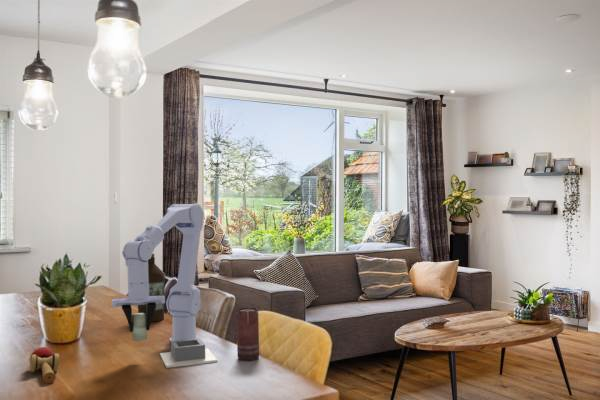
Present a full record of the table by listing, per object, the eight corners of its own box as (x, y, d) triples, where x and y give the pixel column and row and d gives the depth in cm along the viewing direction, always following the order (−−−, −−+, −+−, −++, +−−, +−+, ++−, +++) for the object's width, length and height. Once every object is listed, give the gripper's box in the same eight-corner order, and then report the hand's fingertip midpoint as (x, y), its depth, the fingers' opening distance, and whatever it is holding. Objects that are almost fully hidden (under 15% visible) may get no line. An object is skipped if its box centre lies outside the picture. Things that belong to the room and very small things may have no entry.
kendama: (69, 385, 153) (57, 359, 168) (64, 362, 151) (53, 338, 167) (36, 395, 149) (28, 368, 164) (31, 373, 148) (23, 347, 163)
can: (239, 362, 165) (238, 312, 165) (236, 356, 172) (235, 308, 171) (261, 360, 167) (260, 310, 167) (256, 354, 173) (255, 306, 173)
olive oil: (132, 319, 227) (131, 253, 226) (159, 315, 233) (157, 251, 233) (143, 324, 218) (141, 255, 218) (170, 320, 224) (168, 253, 224)
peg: (131, 338, 171) (131, 313, 171) (146, 336, 172) (145, 312, 172) (132, 341, 167) (132, 316, 167) (147, 339, 168) (146, 315, 168)
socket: (160, 355, 175) (159, 340, 175) (207, 350, 179) (207, 335, 179) (166, 367, 161) (166, 351, 161) (217, 362, 166) (216, 346, 166)
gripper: (112, 286, 163) (113, 335, 163) (166, 282, 168) (167, 330, 168) (111, 283, 170) (112, 330, 170) (162, 279, 175) (163, 325, 175)
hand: (139, 330), depth 170 cm, fingers closed on peg, 4 cm apart
